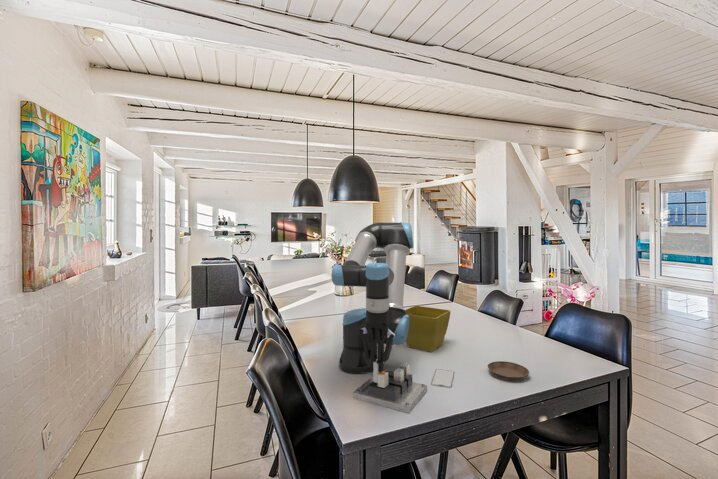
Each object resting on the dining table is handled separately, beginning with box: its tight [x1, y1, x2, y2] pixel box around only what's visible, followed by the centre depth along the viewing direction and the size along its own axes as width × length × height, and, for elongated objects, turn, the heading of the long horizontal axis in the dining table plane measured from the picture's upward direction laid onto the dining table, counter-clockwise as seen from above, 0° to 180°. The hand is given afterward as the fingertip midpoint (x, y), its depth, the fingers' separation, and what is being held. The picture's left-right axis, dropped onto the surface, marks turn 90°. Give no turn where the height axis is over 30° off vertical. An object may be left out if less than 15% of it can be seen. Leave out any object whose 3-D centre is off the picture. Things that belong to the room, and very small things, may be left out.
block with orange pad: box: [378, 370, 388, 388], centre depth 118 cm, size 2×3×4 cm
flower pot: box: [405, 305, 451, 353], centre depth 171 cm, size 19×19×17 cm
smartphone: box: [430, 368, 455, 389], centre depth 136 cm, size 7×1×15 cm
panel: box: [352, 362, 428, 414], centre depth 123 cm, size 20×17×9 cm
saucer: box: [487, 360, 530, 382], centre depth 139 cm, size 15×15×3 cm
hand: (377, 380), depth 119 cm, fingers closed
